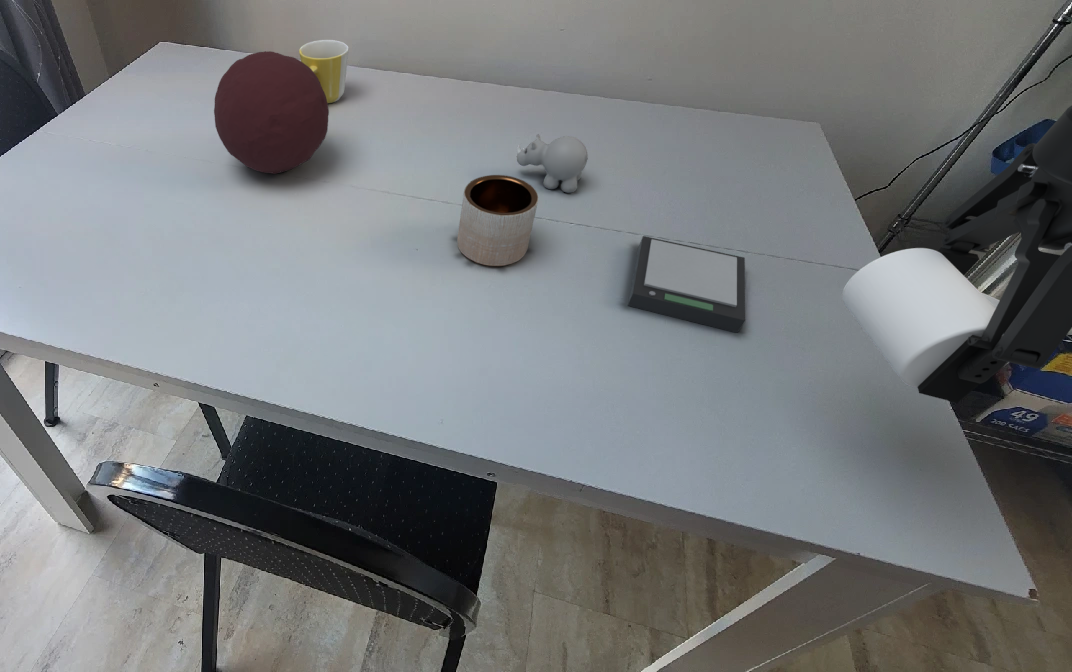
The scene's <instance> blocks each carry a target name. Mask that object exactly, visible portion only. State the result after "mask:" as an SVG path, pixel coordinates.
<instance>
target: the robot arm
mask: <svg viewBox="0 0 1072 672" xmlns="http://www.w3.org/2000/svg"><path fill="white" fill-rule="evenodd" d="M971 217H975V218H971ZM942 228H943V229H948V231H947V232H946V233H945V234H944V236H943V237H942V239H941V244H942V246H941V247H940V248H938V250H937V251H938V252H940V253H941V254H942V255H943V256H944V257H945V258H946V259H947V260H948V261H949V262H950V263H951V264H952V265H953V266H954V267H955V268H956V269H957V270H958V271H959V272H960V273H961V274H962V275H963V276H964V277H965V275H966V274H967V273H968V272H969V271H970V270H971V269H972V268H973V267H974V266H975V265H976V264H977V263H978V262H979V261H980V258H979V255H978V254H977V253H973V252H971V251H975V252H980V253H984V254H985V253H986V254H988V253H989V250H990V247H991V245H994V244H996V243H998V242H1001V241H1002V240H1004V239H1007V238H1010V237H1012V236H1015V235H1016V234H1018V233H1020V240H1019V243H1018V245H1017V247H1016V249H1015V251H1014V254H1013V256H1014V258H1015V259H1016V260H1017V261H1018V262H1017V265H1016V267H1015V269H1014V271H1013V273H1012V275H1011V277H1010V279H1009V281H1008V283H1007V285H1006V287H1005V289H1004V291H1003V293H1002V295H1001V297H1000V299H999V300H1000V301H999V303H998V305H997V307H996V309H995V311H994V313H993V315H992V317H991V319H990V321H989V323H988V325H987V327H986V329H985V331H984V333H983V335H982V337H980V336H976V335H972V336H970V337H968V339H967V340H966V341H965V342H964V343H963V344H962V345H961V346H960V347H959V348H958V349H957V350H956V351H955V352H954V353H953V354H952V355H950V356H949V357H948V358H947V359H946V360H945V361H944V362H943V363H942V364H941V365H940V366H939V367H938V368H937V369H936V370H935V371H934V372H933V373H932V374H930V375H929V376H928V377H927V378H926V379H925V380H924V381H923V382H922V383H921V384H920V385H919V386H918V389H917V390H918V394H920V395H926V396H928V397H931V398H936V399H940V400H943V401H944V400H945V401H948V402H951V403H954V404H955V403H956V404H959V402H961V401H962V400H963V399H964V398H965V397H966V396H967V395H969V394H970V393H972V391H974V390H975V389H976V388H977V387H978V386H979V385H980V384H981V385H982V384H983V383H985V382H987V381H988V380H989V379H991V378H992V377H993V376H994V375H995V374H997V373H998V372H999V371H1000V370H1002V368H1004V367H1005V366H1007V365H1008V364H1009V363H1012V364H1016V365H1020V366H1023V367H1029V368H1032V369H1040V368H1042V367H1043V366H1044V365H1045V364H1046V363H1047V362H1048V360H1049V359H1050V357H1051V356H1052V355H1053V354H1054V352H1055V351H1056V350H1057V348H1058V347H1059V345H1060V344H1061V343H1062V342H1063V340H1064V339H1065V338H1066V336H1067V335H1068V334H1069V333H1070V331H1071V330H1072V105H1070V106H1068V107H1067V108H1066V109H1065V111H1063V113H1062V114H1061V115H1060V116H1059V118H1058V119H1057V120H1056V121H1055V122H1054V123H1053V125H1052V126H1050V128H1049V129H1048V130H1047V131H1046V133H1045V134H1044V135H1043V136H1041V138H1040V139H1039V141H1038V142H1037V143H1028V144H1027V145H1026V146H1025V147H1024V148H1023V149H1022V150H1021V151H1020V153H1019V154H1018V155H1017V156H1016V157H1015V158H1014V159H1013V161H1012V162H1011V163H1010V164H1009V165H1008V166H1007V167H1006V168H1005V169H1003V170H1002V171H1001V172H999V174H997V175H996V176H995V177H994V178H993V179H991V180H990V181H989V182H987V183H986V184H985V185H984V186H983V187H981V188H980V189H979V190H977V191H976V192H975V193H974V194H973V195H971V196H970V197H969V198H968V199H967V200H965V201H964V202H963V203H962V204H960V205H959V206H958V207H957V208H955V210H953V211H952V212H950V213H949V214H947V216H946V217H945V218H944V219H943V222H942ZM1039 248H1040V249H1045V250H1052V251H1064V252H1063V253H1061V254H1057V253H1051V252H1046V251H1042V250H1040V249H1039ZM1003 334H1004V335H1003ZM1002 335H1003V336H1002ZM1008 362H1009V363H1008ZM1007 363H1008V364H1007Z"/></svg>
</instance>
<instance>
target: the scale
mask: <svg viewBox="0 0 1072 672" xmlns="http://www.w3.org/2000/svg"><path fill="white" fill-rule="evenodd" d="M634 262H635V263H634V268H633V274H632V280H631V285H630V291H629V296H628V301H627V306H628V307H632V308H635V309H639V310H643V311H647V312H652V313H656V314H658V315H659V314H660V315H664V316H668V317H671V318H676V319H680V320H684V321H688V322H691V323H696V324H700V325H704V326H707V327H712V328H715V329H720V330H723V331H728V332H732V333H736V334H737V333H739V332H740V330H741V329H742V327H743V325H744V324H745V322H746V258H745V257H743V256H739V255H735V254H730V253H725V252H720V251H716V250H711V249H706V248H701V247H697V246H694V245H693V246H692V245H688V244H684V243H683V244H682V243H678V242H674V241H669V240H665V239H660V238H656V237H650V236H646V235H643V236H642V237H641V240H640V242H639V245H638V248H637V252H636V258H635V261H634Z"/></svg>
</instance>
